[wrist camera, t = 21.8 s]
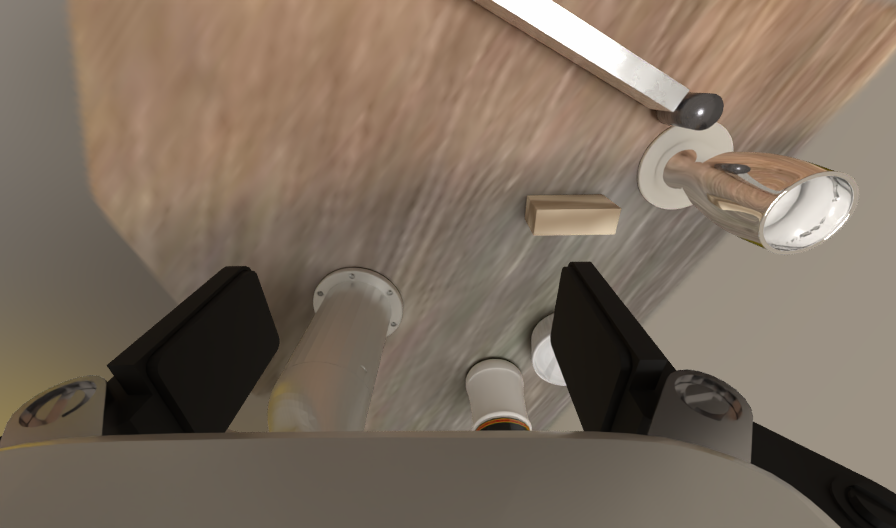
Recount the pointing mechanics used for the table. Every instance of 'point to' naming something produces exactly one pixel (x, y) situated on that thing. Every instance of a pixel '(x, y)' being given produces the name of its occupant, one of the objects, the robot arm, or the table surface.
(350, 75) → the table surface
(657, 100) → the bar
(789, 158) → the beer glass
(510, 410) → the vodka
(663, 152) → the white disc
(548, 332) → the ramekin
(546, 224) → the block
